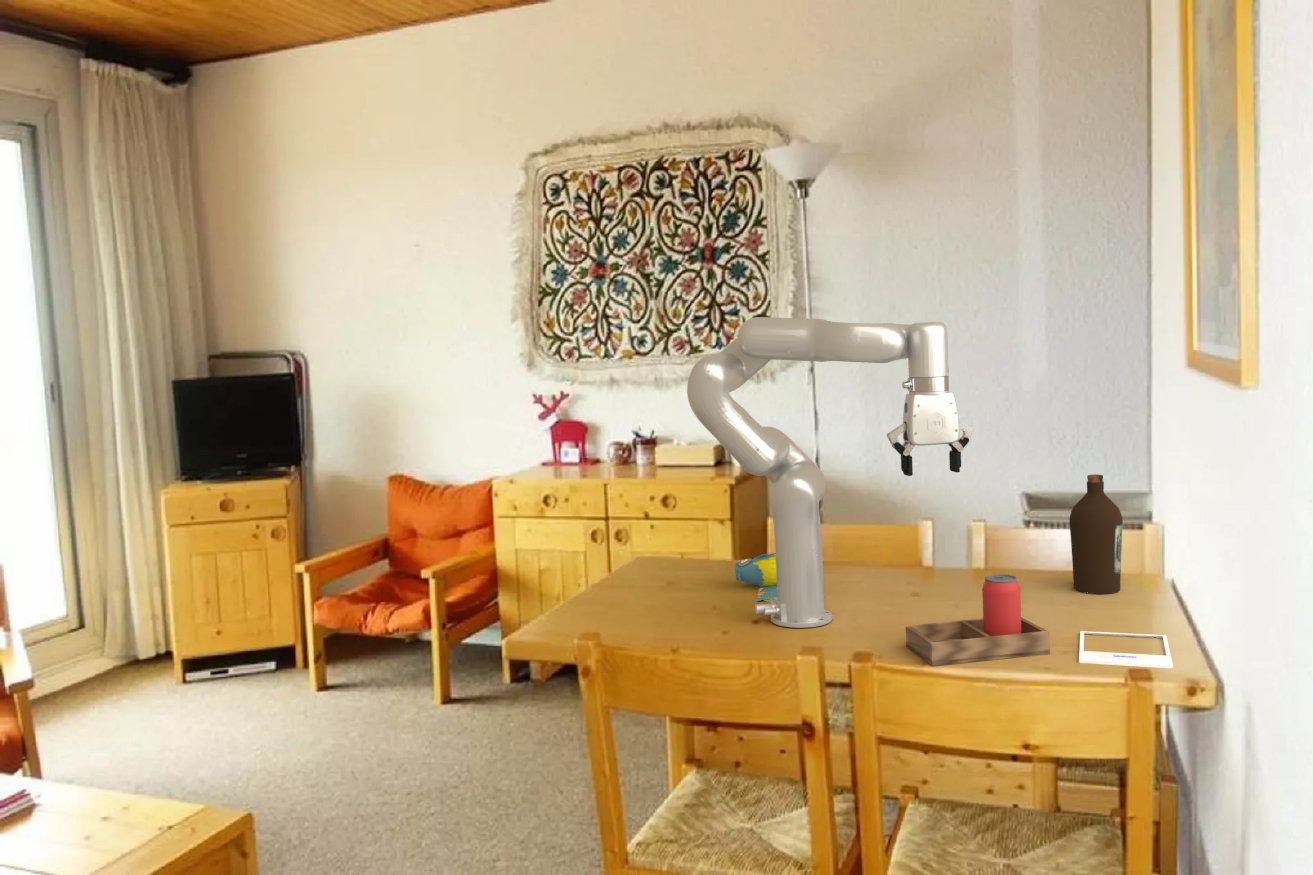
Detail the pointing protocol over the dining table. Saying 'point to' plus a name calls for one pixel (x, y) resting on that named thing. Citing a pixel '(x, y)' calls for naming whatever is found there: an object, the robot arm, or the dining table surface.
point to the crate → (973, 642)
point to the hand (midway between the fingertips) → (931, 473)
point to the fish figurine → (759, 574)
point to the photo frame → (1125, 654)
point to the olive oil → (1096, 541)
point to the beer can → (1001, 605)
